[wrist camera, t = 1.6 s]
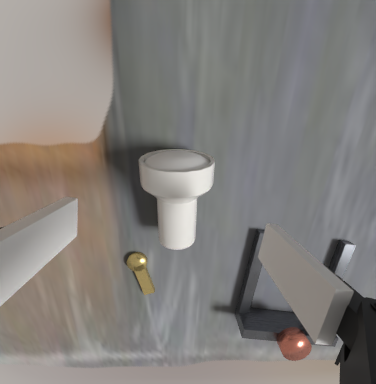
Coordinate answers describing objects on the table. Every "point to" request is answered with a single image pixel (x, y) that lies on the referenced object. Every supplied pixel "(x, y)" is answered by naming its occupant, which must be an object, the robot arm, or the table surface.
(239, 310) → the channel
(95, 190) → the table surface
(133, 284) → the table surface
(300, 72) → the table surface
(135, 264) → the brass key
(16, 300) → the table surface
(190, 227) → the spotlight
